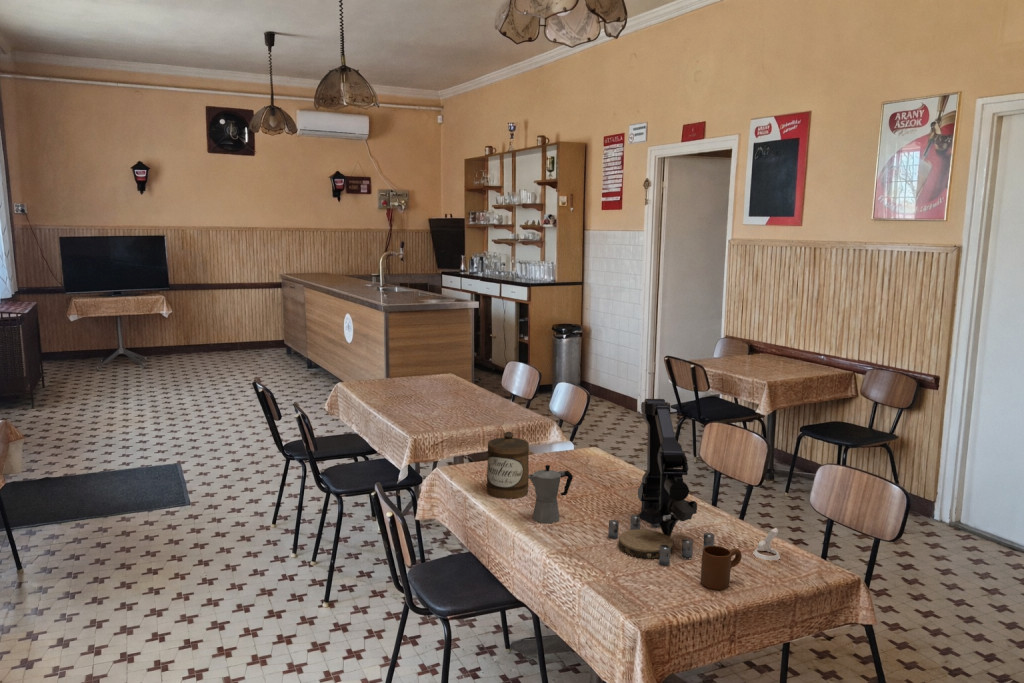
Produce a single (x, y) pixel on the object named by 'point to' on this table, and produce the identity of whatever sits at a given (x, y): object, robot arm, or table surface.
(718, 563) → the mug
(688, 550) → the grey metal cylinder set
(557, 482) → the coffeepot
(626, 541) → the brown wooden disc
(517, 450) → the wooden container
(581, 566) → the table surface
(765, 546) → the hook
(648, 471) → the robot arm
